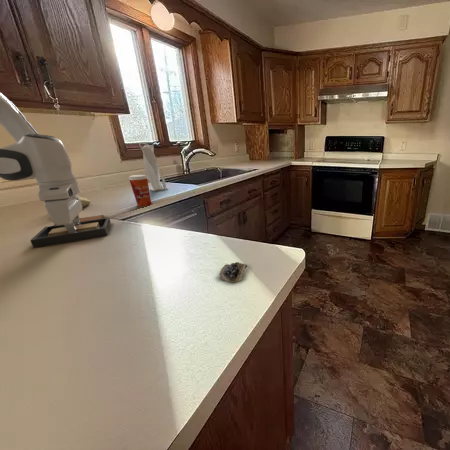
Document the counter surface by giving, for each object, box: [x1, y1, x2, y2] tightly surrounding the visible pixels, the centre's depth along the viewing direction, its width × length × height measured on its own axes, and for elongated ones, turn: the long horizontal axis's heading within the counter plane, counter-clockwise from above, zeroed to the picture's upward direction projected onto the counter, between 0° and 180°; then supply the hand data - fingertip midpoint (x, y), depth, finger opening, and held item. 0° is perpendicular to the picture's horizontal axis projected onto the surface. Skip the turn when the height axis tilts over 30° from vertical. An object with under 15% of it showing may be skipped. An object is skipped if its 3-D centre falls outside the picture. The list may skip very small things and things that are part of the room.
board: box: [48, 222, 100, 236], centre depth 81 cm, size 12×5×2 cm, turn 122°
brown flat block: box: [53, 214, 104, 226], centre depth 94 cm, size 14×10×1 cm
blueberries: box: [218, 261, 248, 284], centre depth 56 cm, size 7×8×2 cm
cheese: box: [78, 195, 91, 208], centre depth 112 cm, size 15×7×15 cm
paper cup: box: [128, 174, 152, 207], centre depth 115 cm, size 8×8×14 cm
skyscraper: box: [138, 142, 168, 193], centre depth 147 cm, size 8×8×28 cm
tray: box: [30, 217, 112, 249], centre depth 82 cm, size 18×14×3 cm
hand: (75, 230), depth 81 cm, fingers closed on board, 5 cm apart
